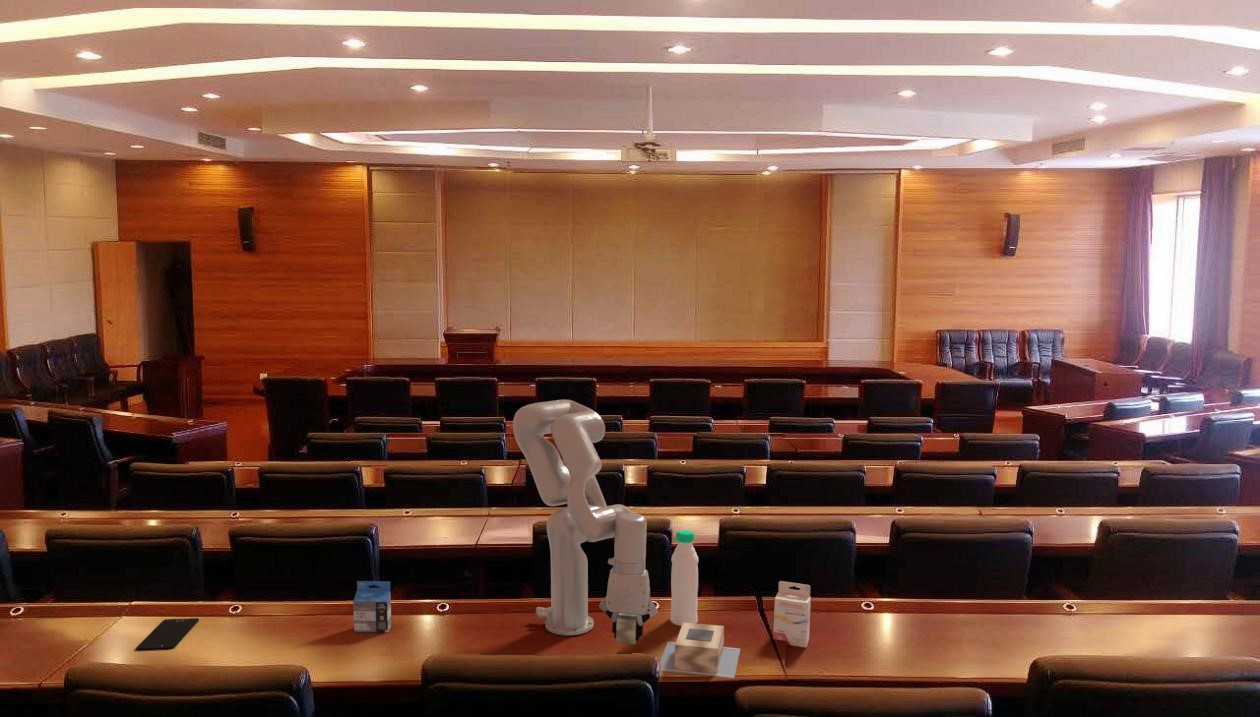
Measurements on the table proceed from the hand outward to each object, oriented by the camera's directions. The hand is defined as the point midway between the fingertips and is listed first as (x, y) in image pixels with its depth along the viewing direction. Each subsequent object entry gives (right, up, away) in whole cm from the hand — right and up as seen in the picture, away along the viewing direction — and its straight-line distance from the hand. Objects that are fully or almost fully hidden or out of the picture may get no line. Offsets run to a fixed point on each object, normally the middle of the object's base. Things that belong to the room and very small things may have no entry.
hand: (627, 636), depth 225 cm
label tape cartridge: (-66, -3, +15) cm, 67 cm away
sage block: (0, -1, 0) cm, 1 cm away
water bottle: (+15, -3, +19) cm, 25 cm away
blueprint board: (+17, -5, -3) cm, 18 cm away
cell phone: (-117, -3, +11) cm, 117 cm away
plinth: (+17, -4, -4) cm, 18 cm away
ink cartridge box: (+41, -4, +9) cm, 42 cm away
